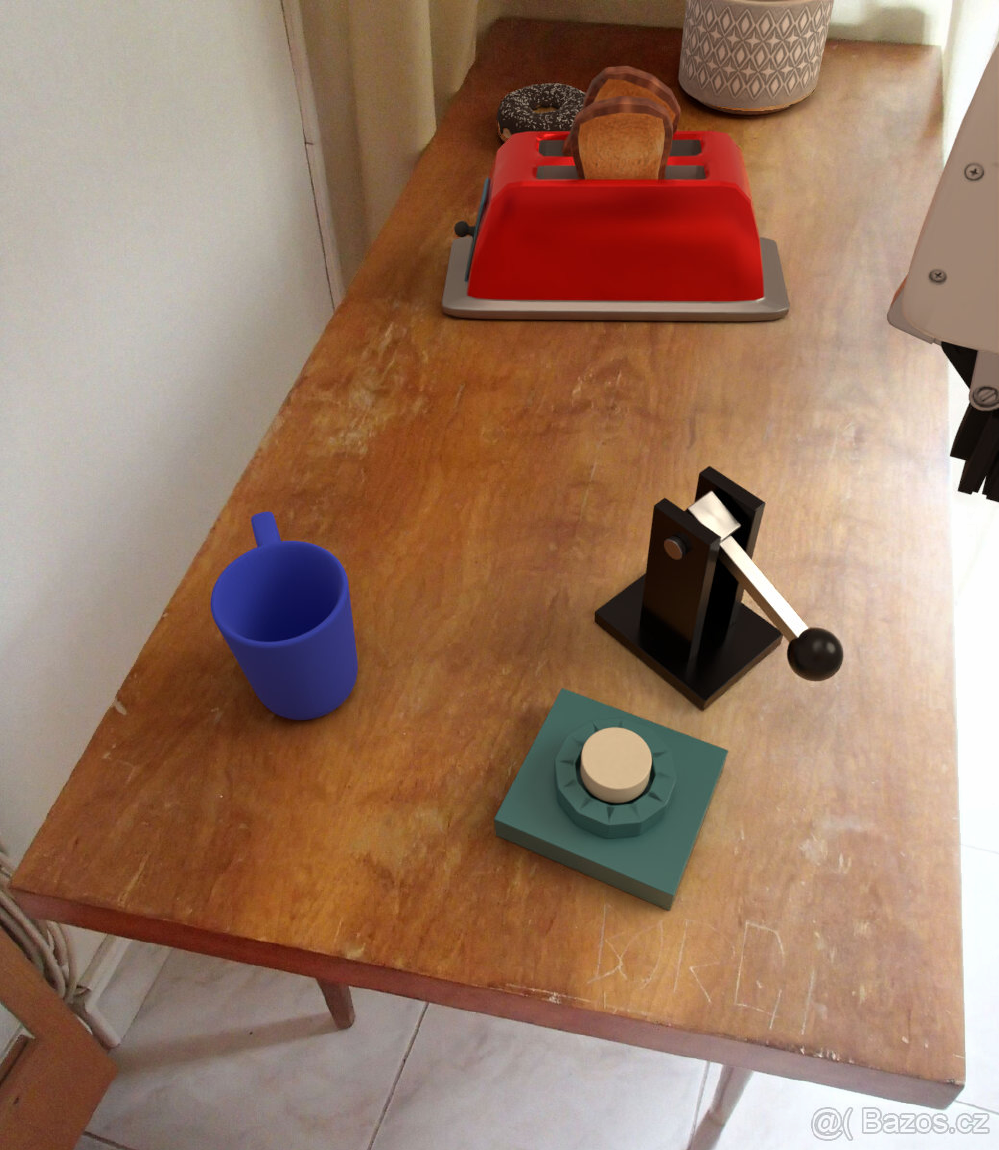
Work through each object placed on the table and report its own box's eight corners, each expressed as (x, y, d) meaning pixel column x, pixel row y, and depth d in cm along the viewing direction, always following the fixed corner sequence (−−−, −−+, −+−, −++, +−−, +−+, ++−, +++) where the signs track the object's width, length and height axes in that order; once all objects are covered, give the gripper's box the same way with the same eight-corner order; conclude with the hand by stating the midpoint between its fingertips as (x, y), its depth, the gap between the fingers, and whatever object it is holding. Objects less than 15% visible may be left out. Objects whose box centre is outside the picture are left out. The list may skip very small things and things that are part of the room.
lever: (834, 667, 60) (864, 653, 57) (801, 697, 59) (830, 684, 56) (697, 504, 62) (720, 482, 59) (662, 530, 61) (684, 509, 58)
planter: (816, 65, 124) (839, -49, 114) (812, 127, 114) (837, 7, 104) (685, 57, 127) (696, -55, 117) (669, 116, 117) (680, -1, 107)
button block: (723, 767, 62) (733, 734, 58) (670, 911, 56) (677, 882, 53) (561, 705, 65) (562, 671, 62) (495, 835, 59) (492, 804, 56)
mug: (343, 582, 72) (319, 484, 65) (383, 715, 65) (361, 623, 57) (231, 612, 71) (193, 516, 63) (259, 751, 63) (219, 662, 56)
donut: (477, 132, 116) (475, 98, 113) (556, 102, 120) (556, 68, 117) (536, 168, 110) (535, 133, 107) (616, 135, 114) (618, 100, 111)
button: (659, 757, 58) (661, 741, 57) (634, 814, 56) (637, 799, 54) (595, 732, 59) (597, 717, 58) (569, 787, 57) (570, 772, 56)
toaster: (441, 321, 92) (421, 121, 78) (453, 245, 100) (438, 51, 86) (789, 324, 90) (835, 119, 76) (773, 246, 98) (812, 48, 84)
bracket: (780, 643, 67) (821, 514, 58) (702, 711, 64) (731, 587, 54) (671, 562, 72) (691, 431, 63) (593, 621, 69) (601, 493, 59)
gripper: (898, -25, 25) (772, 482, 39) (1620, 65, 21) (1188, 602, 35) (949, -114, 30) (819, 372, 44) (1558, -55, 25) (1195, 466, 39)
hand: (983, 473), depth 39 cm, fingers closed
